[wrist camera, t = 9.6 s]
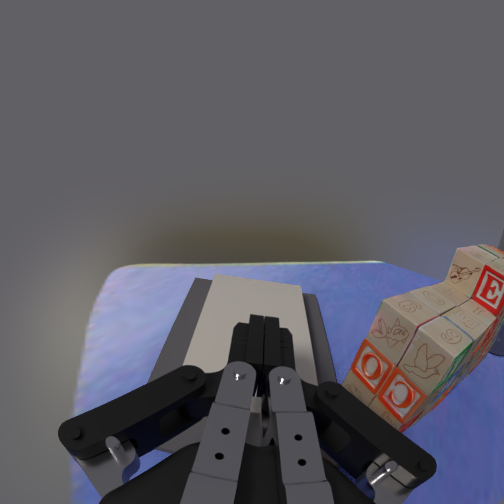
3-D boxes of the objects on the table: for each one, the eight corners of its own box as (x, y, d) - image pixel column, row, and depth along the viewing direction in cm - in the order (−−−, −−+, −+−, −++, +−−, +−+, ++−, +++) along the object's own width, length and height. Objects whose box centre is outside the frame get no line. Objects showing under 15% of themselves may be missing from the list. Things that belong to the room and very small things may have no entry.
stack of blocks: (380, 451, 14) (483, 307, 9) (333, 395, 19) (394, 250, 14) (485, 357, 23) (531, 266, 18) (452, 330, 28) (491, 242, 23)
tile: (320, 401, 15) (300, 285, 29) (176, 383, 15) (215, 273, 29) (311, 418, 16) (296, 302, 30) (178, 402, 16) (213, 290, 30)
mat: (349, 466, 13) (352, 463, 13) (126, 440, 13) (124, 437, 13) (314, 298, 32) (315, 294, 32) (195, 281, 32) (195, 277, 32)
